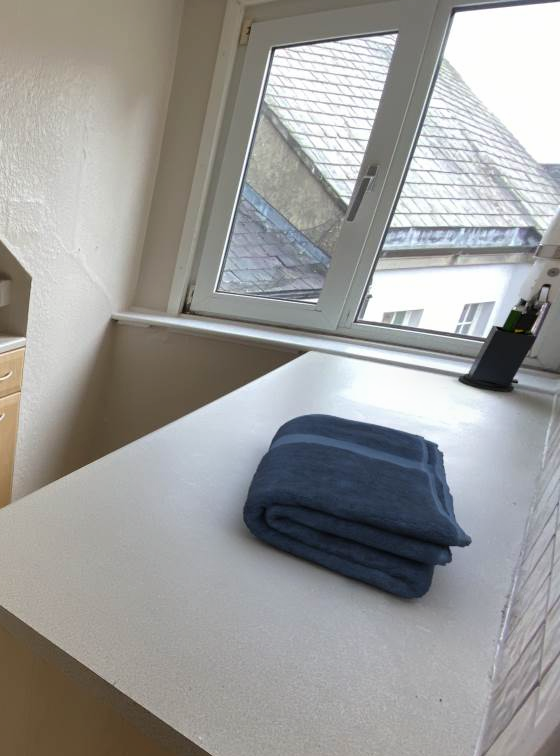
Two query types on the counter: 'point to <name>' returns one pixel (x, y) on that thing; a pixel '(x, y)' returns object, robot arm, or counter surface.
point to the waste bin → (500, 358)
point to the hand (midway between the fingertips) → (518, 326)
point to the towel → (356, 501)
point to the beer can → (512, 319)
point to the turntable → (485, 386)
